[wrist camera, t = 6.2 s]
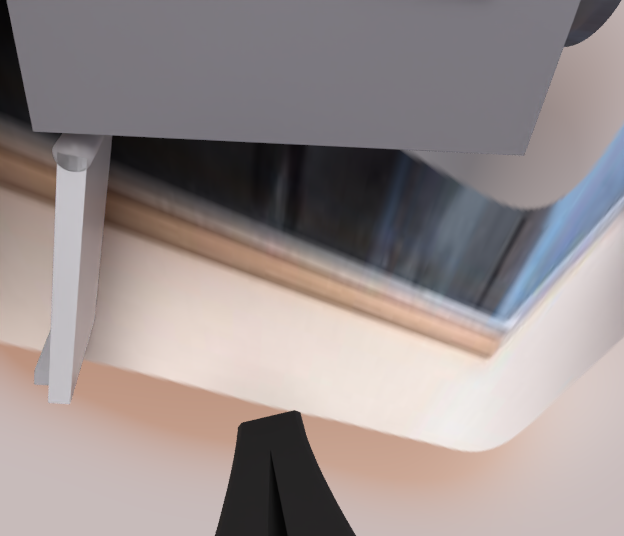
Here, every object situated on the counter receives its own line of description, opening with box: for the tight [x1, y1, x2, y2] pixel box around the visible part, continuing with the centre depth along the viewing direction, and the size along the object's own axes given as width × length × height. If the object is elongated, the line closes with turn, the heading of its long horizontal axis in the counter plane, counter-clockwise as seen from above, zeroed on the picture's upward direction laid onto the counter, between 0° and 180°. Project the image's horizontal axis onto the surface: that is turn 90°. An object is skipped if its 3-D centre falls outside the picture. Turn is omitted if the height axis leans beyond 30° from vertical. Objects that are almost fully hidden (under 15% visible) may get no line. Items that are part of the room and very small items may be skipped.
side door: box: [34, 133, 112, 404], centre depth 14 cm, size 8×1×4 cm, turn 163°
